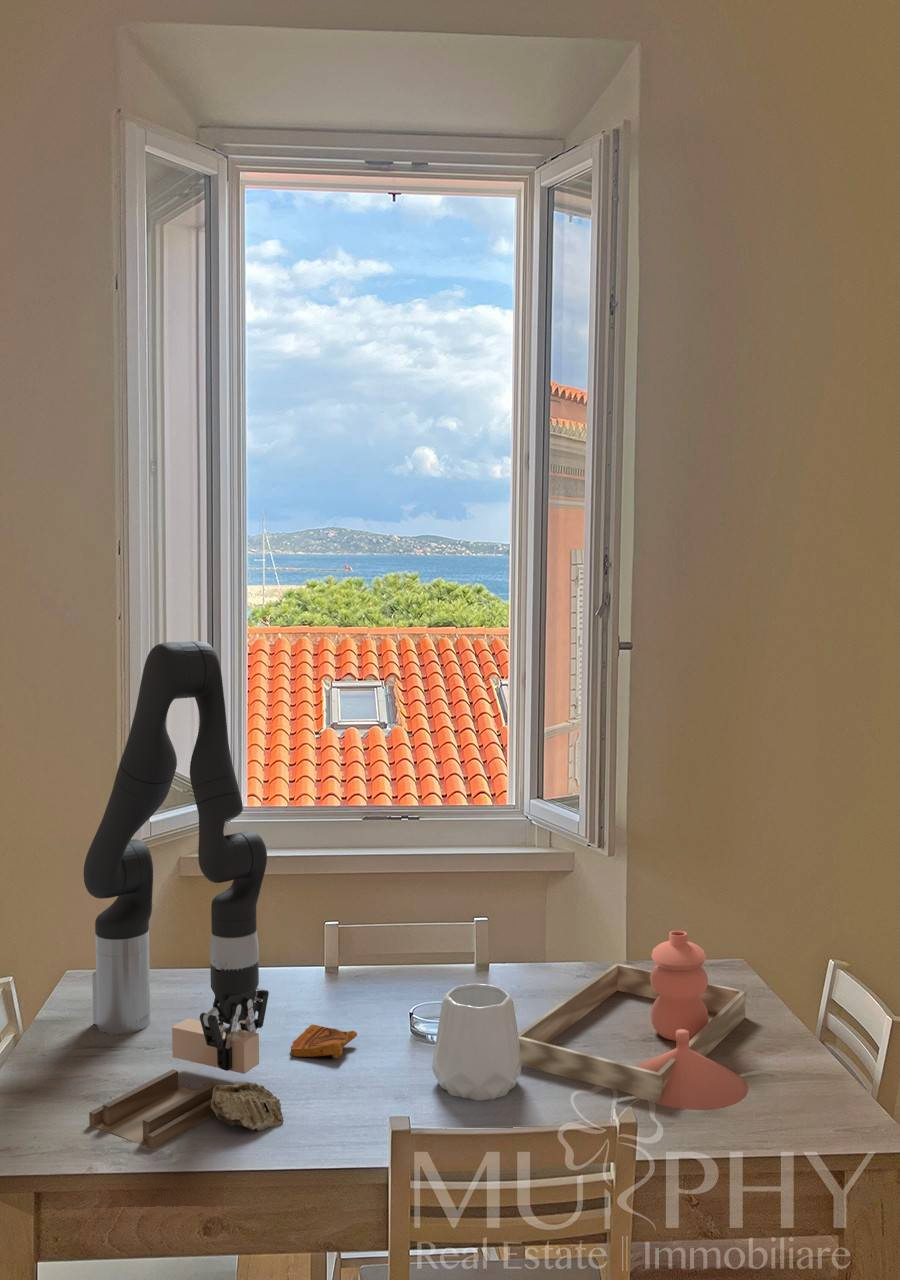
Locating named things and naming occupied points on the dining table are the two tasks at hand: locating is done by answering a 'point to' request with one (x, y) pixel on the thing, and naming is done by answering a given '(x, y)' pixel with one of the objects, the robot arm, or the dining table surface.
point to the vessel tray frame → (612, 1072)
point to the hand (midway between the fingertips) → (235, 1062)
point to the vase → (477, 1043)
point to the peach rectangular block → (194, 1048)
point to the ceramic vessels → (687, 1030)
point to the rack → (154, 1111)
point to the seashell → (246, 1105)
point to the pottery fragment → (321, 1042)
